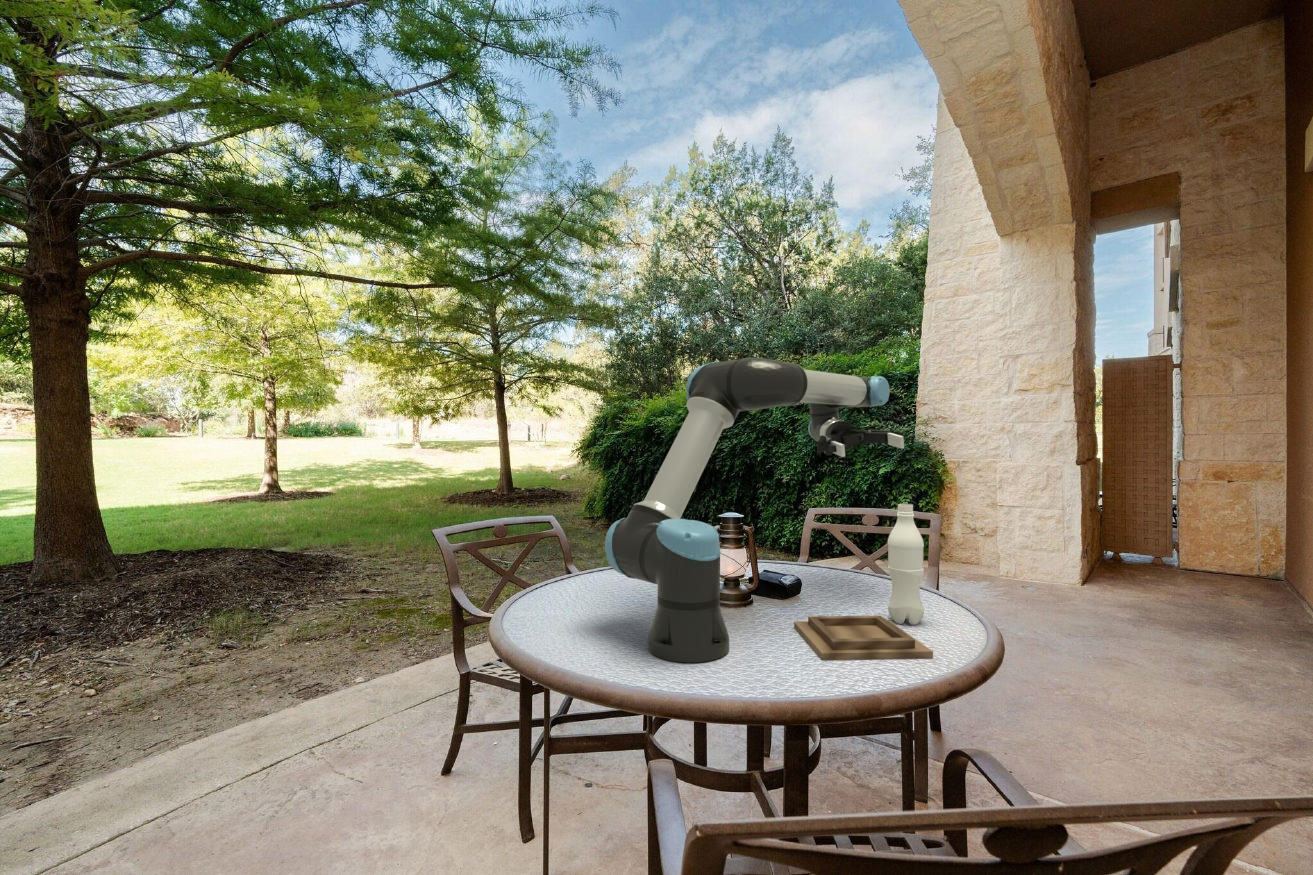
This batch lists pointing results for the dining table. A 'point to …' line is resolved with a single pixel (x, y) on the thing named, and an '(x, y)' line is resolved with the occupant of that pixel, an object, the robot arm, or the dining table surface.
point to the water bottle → (905, 568)
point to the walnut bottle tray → (859, 638)
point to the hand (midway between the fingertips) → (872, 446)
